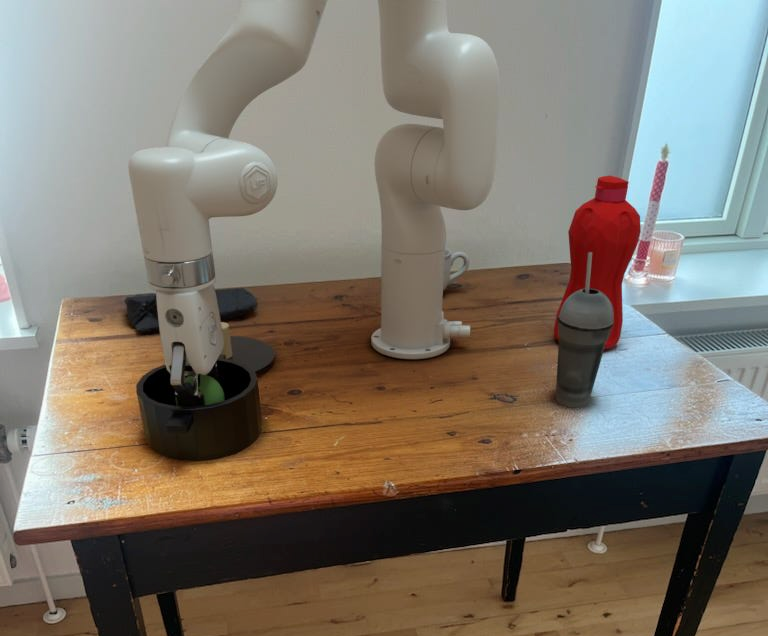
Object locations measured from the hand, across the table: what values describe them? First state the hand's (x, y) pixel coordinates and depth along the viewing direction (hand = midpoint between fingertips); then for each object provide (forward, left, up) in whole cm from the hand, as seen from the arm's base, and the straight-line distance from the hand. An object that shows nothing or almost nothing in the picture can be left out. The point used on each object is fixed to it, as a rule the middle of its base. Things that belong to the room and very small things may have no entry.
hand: (201, 409), depth 95 cm
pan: (0, 0, -3) cm, 3 cm away
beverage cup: (-49, -12, -3) cm, 51 cm away
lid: (+2, -21, -3) cm, 21 cm away
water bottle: (-55, -33, -3) cm, 64 cm away
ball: (0, 0, +2) cm, 2 cm away
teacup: (-29, -54, -3) cm, 61 cm away
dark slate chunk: (+12, -41, -3) cm, 43 cm away
